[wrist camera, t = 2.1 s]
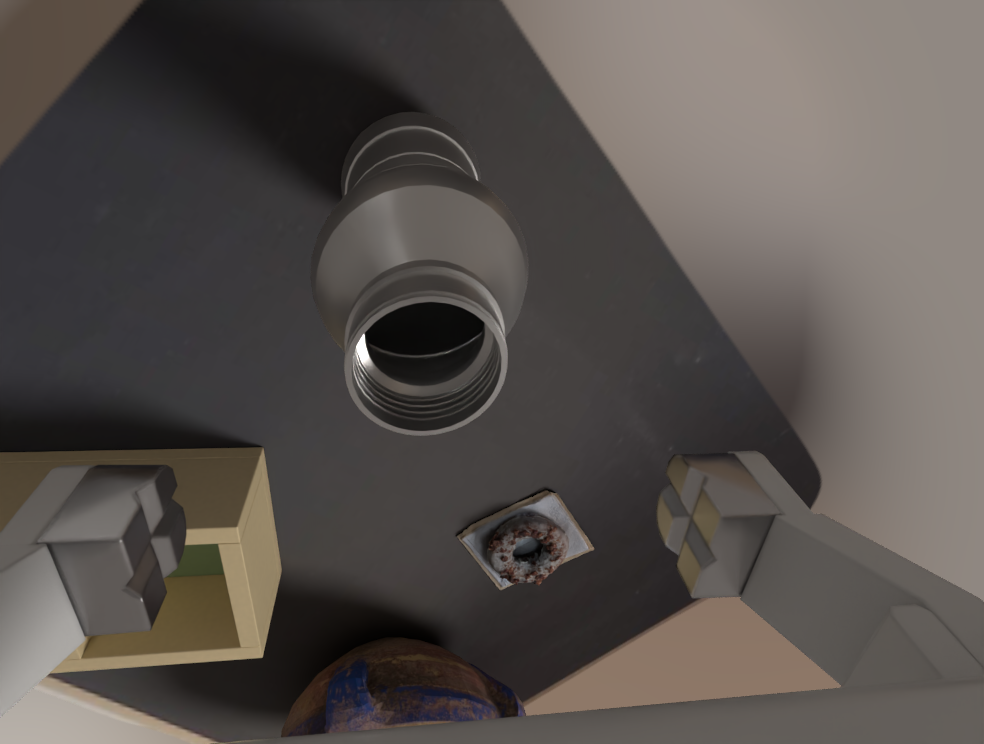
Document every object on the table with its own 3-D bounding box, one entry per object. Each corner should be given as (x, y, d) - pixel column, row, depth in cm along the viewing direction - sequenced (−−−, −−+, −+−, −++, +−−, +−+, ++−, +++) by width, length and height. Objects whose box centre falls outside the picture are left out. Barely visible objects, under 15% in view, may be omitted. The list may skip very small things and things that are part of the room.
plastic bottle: (317, 171, 29) (202, 373, 12) (415, 73, 28) (441, 150, 11) (407, 261, 32) (416, 525, 15) (501, 177, 31) (627, 368, 14)
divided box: (-127, 454, 34) (-239, 546, 28) (263, 446, 37) (237, 527, 31) (-51, 587, 40) (-131, 686, 34) (281, 570, 43) (262, 658, 37)
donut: (554, 485, 42) (561, 505, 40) (593, 547, 46) (600, 568, 44) (453, 532, 43) (455, 553, 42) (499, 589, 47) (503, 611, 46)
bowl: (433, 743, 58) (439, 868, 49) (254, 707, 51) (224, 845, 42) (537, 635, 51) (564, 757, 42) (346, 577, 44) (334, 709, 36)
